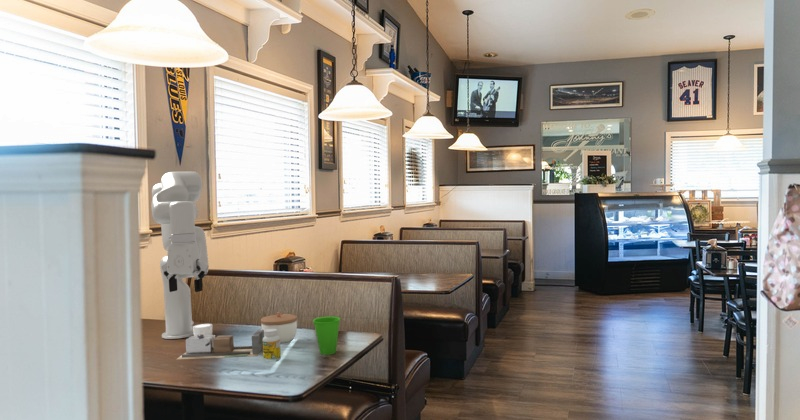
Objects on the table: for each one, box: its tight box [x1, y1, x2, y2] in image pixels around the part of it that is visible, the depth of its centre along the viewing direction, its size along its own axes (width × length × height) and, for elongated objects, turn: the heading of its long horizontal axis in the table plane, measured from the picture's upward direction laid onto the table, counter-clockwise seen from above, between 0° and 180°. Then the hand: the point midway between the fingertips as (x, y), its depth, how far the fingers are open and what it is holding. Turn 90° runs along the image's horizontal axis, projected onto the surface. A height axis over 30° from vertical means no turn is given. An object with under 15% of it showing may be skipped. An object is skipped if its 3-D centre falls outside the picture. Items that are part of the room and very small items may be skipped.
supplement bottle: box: [262, 329, 282, 362], centre depth 177 cm, size 5×5×10 cm
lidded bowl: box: [260, 311, 298, 344], centre depth 198 cm, size 13×13×11 cm
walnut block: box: [213, 334, 235, 353], centre depth 184 cm, size 5×5×5 cm
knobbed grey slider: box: [185, 334, 216, 354], centre depth 183 cm, size 7×8×6 cm
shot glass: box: [192, 323, 213, 336], centre depth 200 cm, size 7×7×7 cm
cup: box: [312, 315, 341, 356], centre depth 183 cm, size 9×9×11 cm
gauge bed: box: [176, 329, 264, 360], centre depth 184 cm, size 12×26×7 cm, turn 90°
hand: (186, 291), depth 182 cm, fingers open, 9 cm apart
